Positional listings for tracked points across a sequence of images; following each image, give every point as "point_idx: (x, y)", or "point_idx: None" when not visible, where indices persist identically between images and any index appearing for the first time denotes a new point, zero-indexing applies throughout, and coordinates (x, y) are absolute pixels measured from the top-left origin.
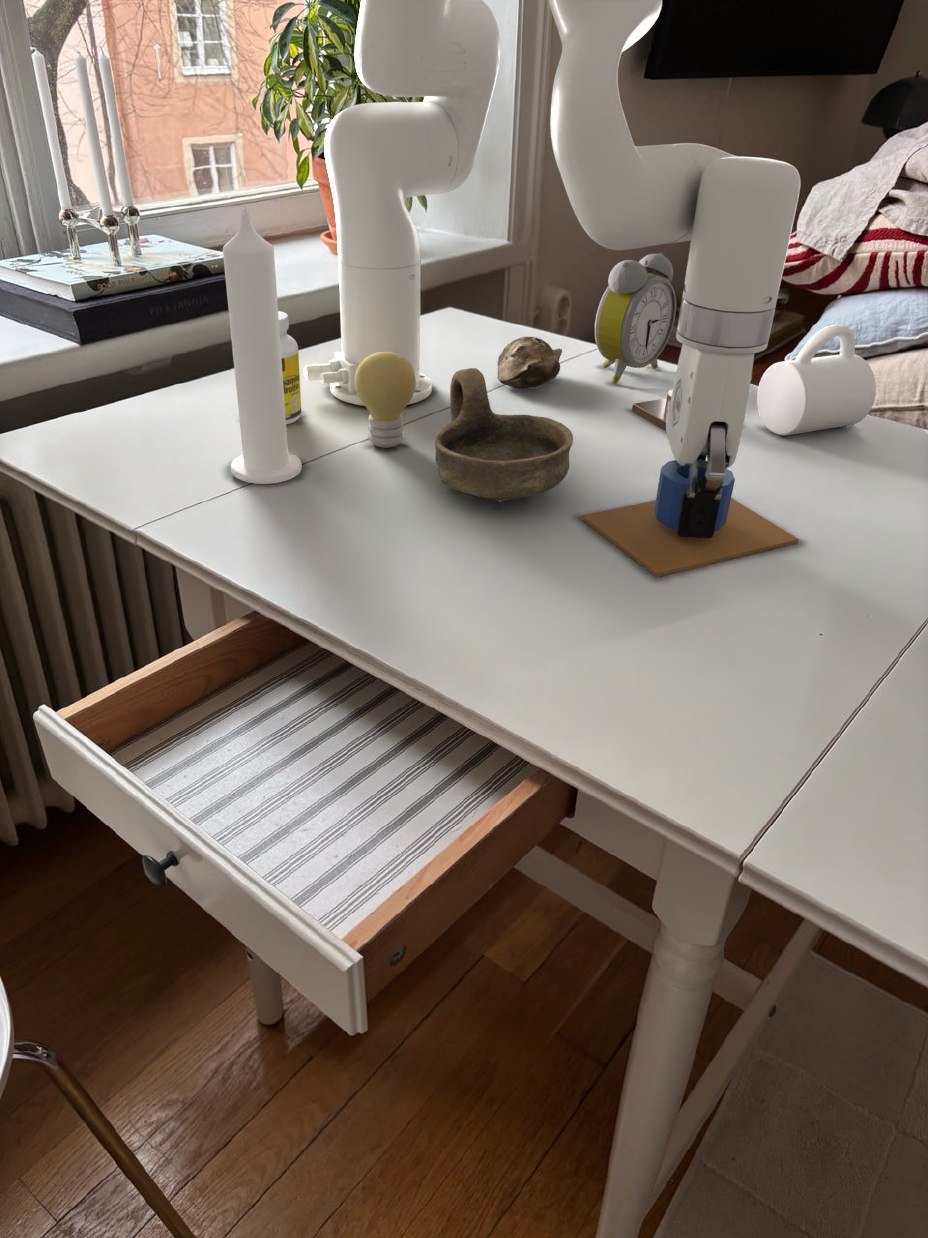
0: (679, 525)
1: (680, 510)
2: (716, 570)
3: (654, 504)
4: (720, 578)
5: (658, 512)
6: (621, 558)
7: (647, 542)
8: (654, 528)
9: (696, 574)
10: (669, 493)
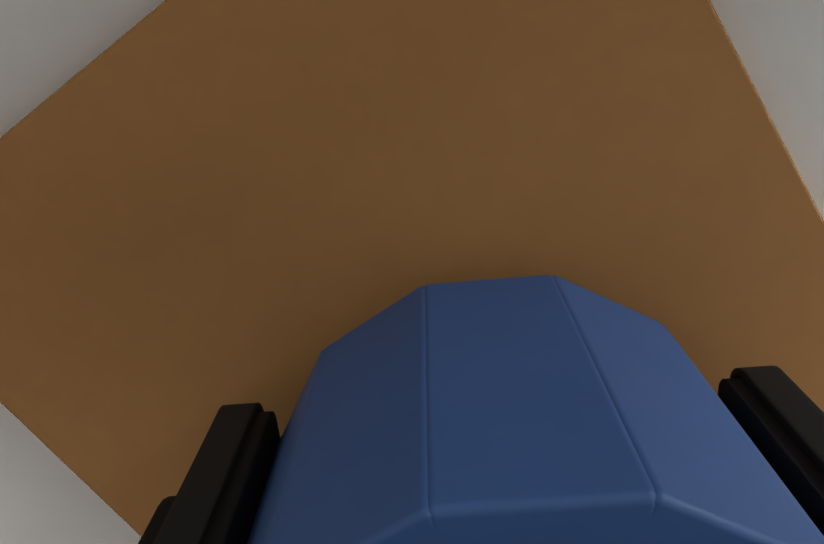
0: (208, 442)
1: (205, 502)
2: (83, 524)
3: (782, 264)
4: (11, 535)
5: (410, 314)
6: (14, 46)
7: (217, 212)
8: (423, 257)
9: (2, 441)
10: (322, 474)
